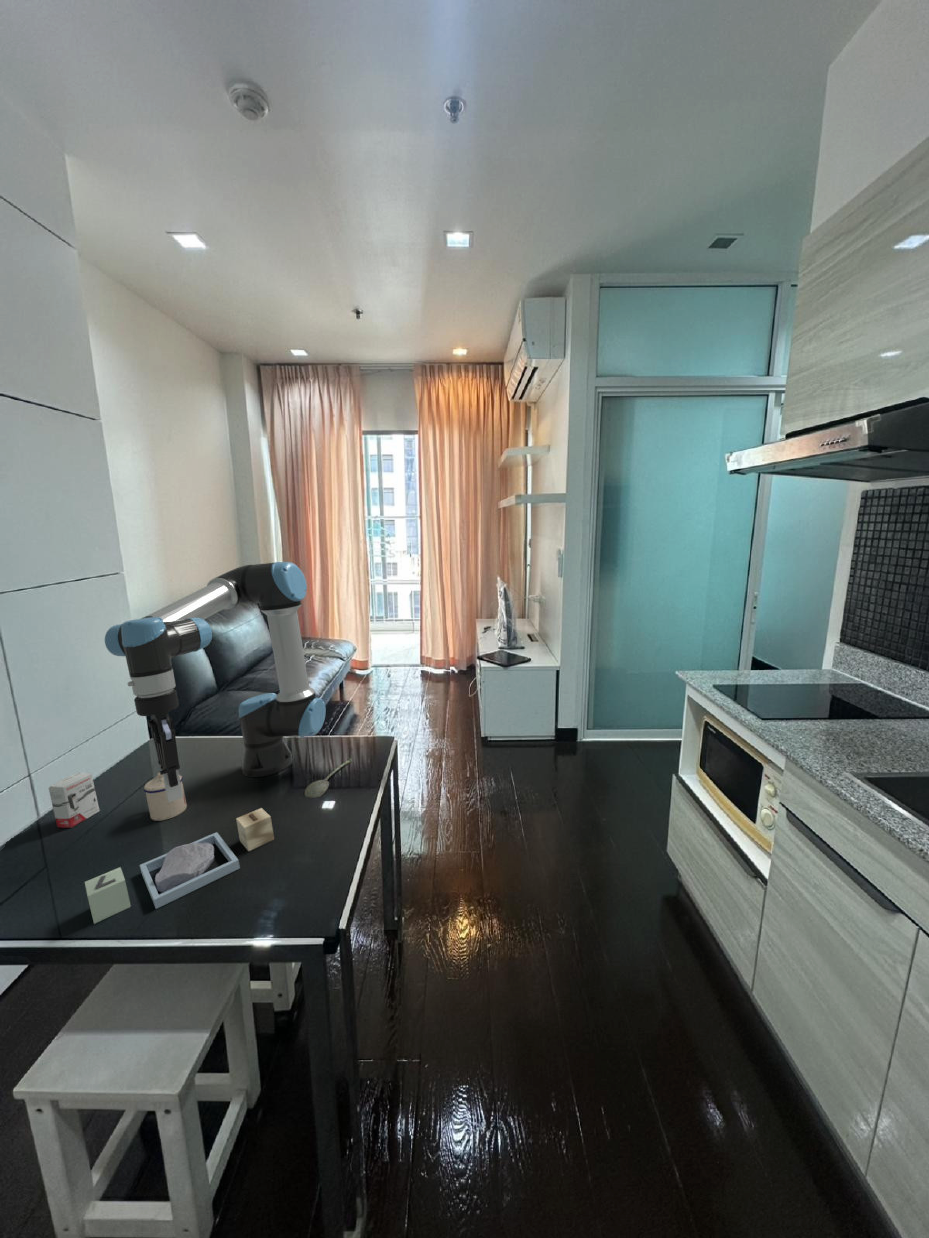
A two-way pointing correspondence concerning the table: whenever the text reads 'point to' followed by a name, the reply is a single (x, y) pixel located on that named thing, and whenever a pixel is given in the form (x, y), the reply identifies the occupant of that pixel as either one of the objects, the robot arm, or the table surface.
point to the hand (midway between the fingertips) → (175, 798)
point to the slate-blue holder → (193, 883)
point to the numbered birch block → (255, 829)
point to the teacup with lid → (163, 800)
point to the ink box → (74, 799)
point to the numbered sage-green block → (107, 894)
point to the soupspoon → (321, 784)
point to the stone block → (184, 865)
